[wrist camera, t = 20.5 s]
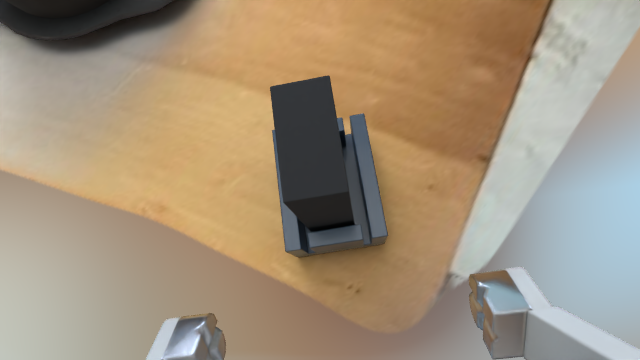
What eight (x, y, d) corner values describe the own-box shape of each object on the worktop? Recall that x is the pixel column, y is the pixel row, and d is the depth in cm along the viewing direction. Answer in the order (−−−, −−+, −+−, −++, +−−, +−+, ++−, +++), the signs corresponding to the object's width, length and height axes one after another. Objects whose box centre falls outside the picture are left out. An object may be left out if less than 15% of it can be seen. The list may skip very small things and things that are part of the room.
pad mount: (384, 243, 26) (388, 235, 22) (297, 257, 27) (285, 251, 23) (364, 137, 29) (364, 113, 25) (284, 151, 29) (271, 129, 25)
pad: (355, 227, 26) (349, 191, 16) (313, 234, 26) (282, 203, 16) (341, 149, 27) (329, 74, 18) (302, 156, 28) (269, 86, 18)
